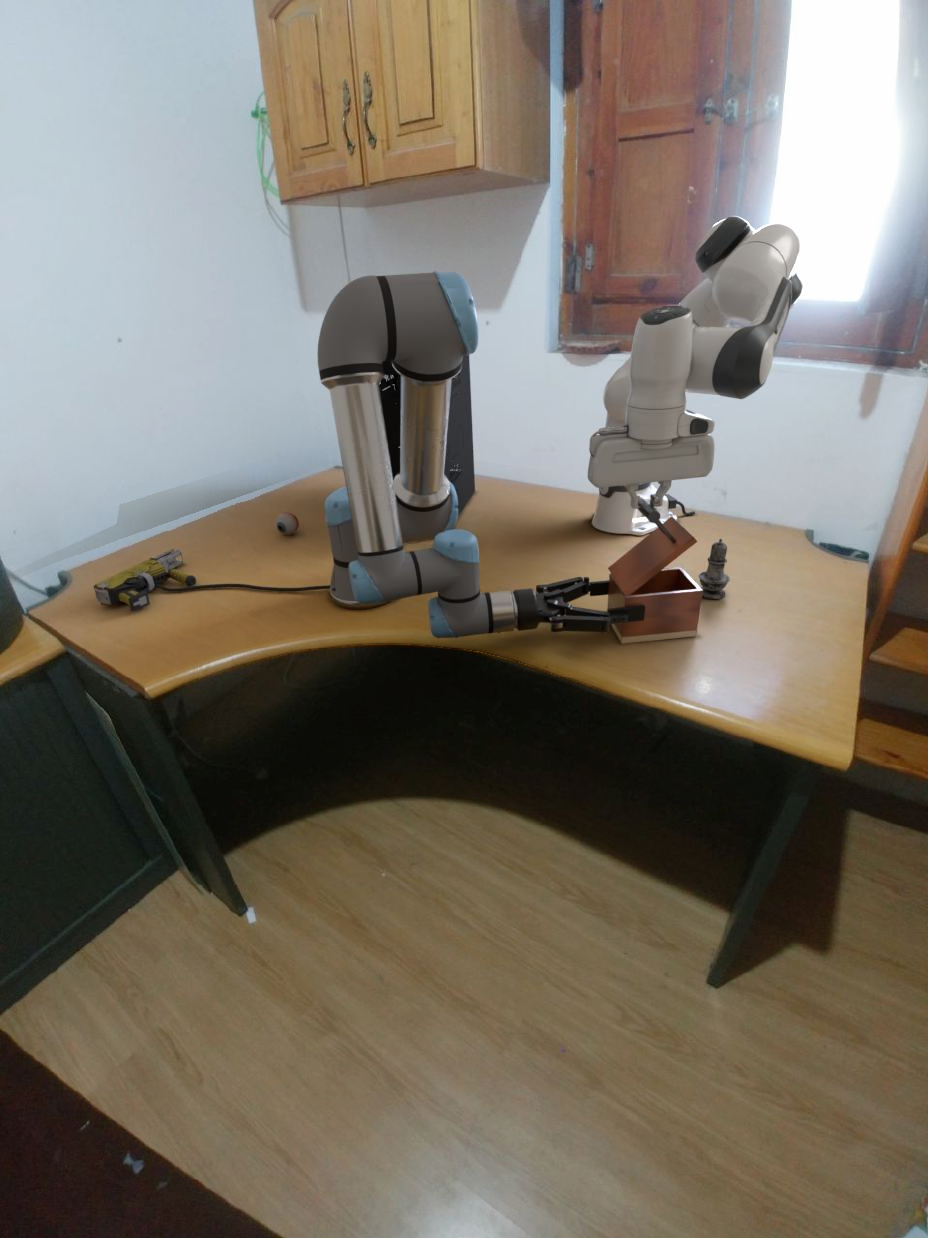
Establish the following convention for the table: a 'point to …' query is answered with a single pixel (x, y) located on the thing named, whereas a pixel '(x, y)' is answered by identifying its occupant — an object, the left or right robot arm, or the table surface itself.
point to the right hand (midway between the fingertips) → (646, 506)
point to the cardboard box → (457, 433)
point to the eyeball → (287, 523)
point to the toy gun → (141, 581)
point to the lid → (651, 551)
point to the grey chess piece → (715, 572)
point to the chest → (659, 607)
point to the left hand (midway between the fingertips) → (633, 598)
